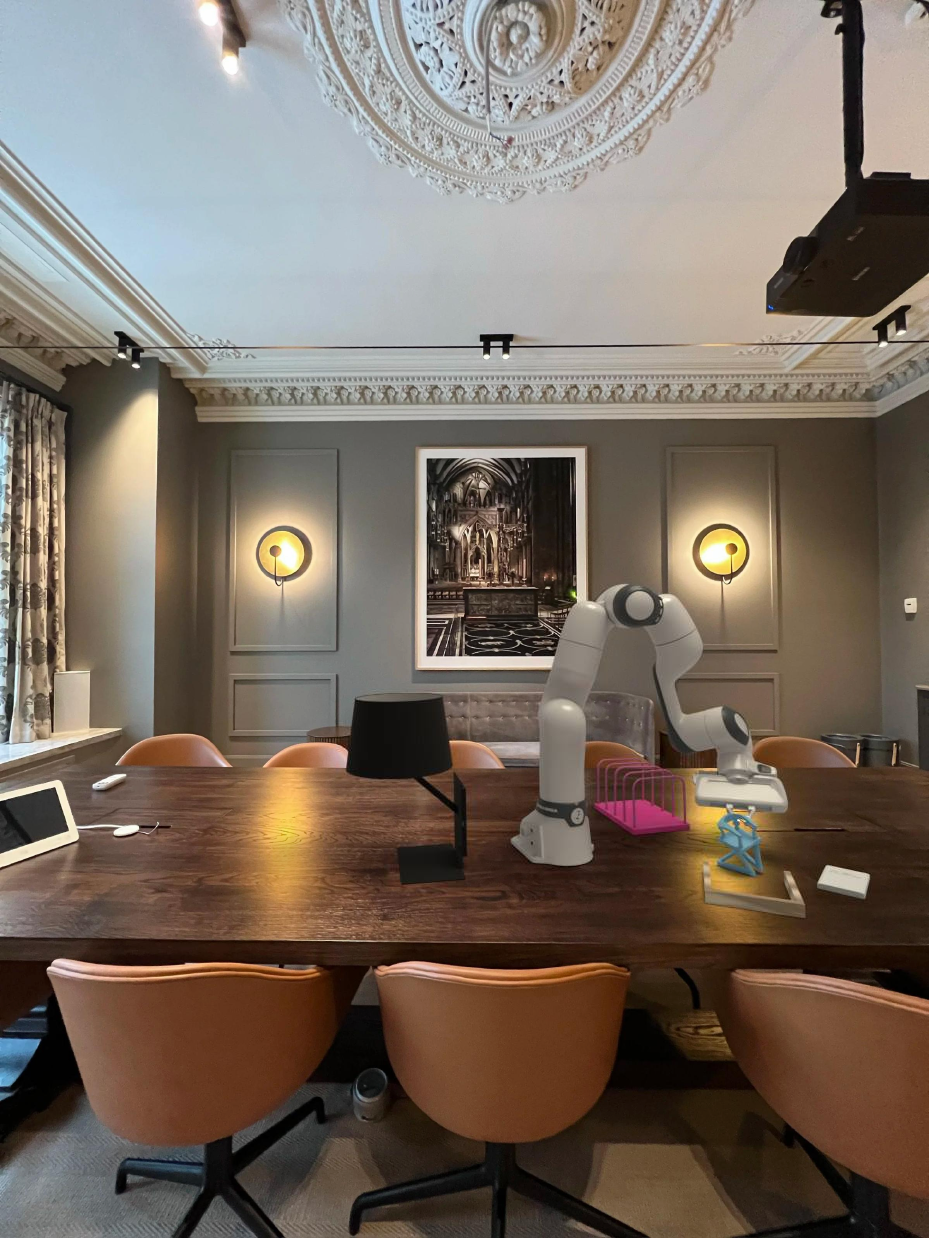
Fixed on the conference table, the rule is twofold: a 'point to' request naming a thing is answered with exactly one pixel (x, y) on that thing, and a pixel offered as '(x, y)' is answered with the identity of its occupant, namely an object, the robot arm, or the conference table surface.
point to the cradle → (756, 898)
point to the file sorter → (641, 804)
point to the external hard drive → (844, 881)
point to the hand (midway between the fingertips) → (742, 824)
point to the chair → (739, 844)
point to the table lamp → (410, 769)
